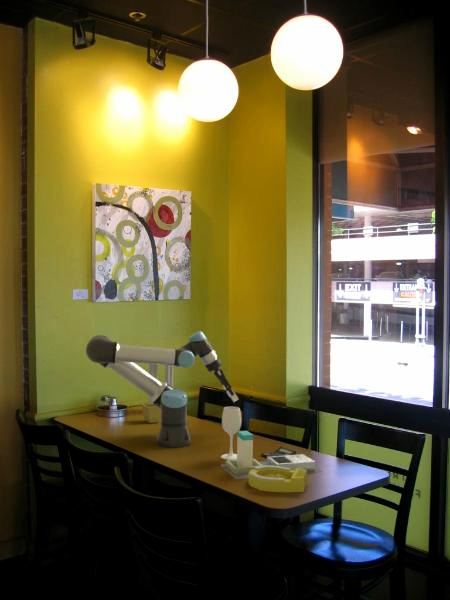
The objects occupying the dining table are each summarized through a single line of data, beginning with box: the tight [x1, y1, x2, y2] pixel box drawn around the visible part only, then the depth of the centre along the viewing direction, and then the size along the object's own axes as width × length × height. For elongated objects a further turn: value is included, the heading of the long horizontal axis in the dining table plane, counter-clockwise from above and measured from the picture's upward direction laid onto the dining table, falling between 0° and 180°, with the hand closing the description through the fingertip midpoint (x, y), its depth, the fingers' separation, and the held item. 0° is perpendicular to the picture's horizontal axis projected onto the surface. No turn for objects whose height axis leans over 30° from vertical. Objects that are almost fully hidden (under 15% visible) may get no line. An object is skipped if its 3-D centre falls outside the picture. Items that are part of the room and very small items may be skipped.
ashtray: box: [248, 465, 308, 493], centre depth 227 cm, size 16×21×5 cm
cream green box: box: [236, 430, 254, 467], centre depth 246 cm, size 4×7×14 cm, turn 18°
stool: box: [147, 364, 174, 404], centre depth 351 cm, size 16×16×35 cm
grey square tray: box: [225, 458, 263, 474], centre depth 246 cm, size 12×11×2 cm
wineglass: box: [220, 406, 242, 460], centre depth 262 cm, size 9×9×21 cm
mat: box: [219, 460, 323, 480], centre depth 246 cm, size 36×19×1 cm, turn 108°
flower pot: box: [141, 403, 161, 424], centre depth 326 cm, size 9×9×9 cm
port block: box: [266, 453, 316, 471], centre depth 247 cm, size 16×11×4 cm
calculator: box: [260, 446, 297, 458], centre depth 264 cm, size 9×12×3 cm
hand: (233, 398), depth 302 cm, fingers open, 13 cm apart
